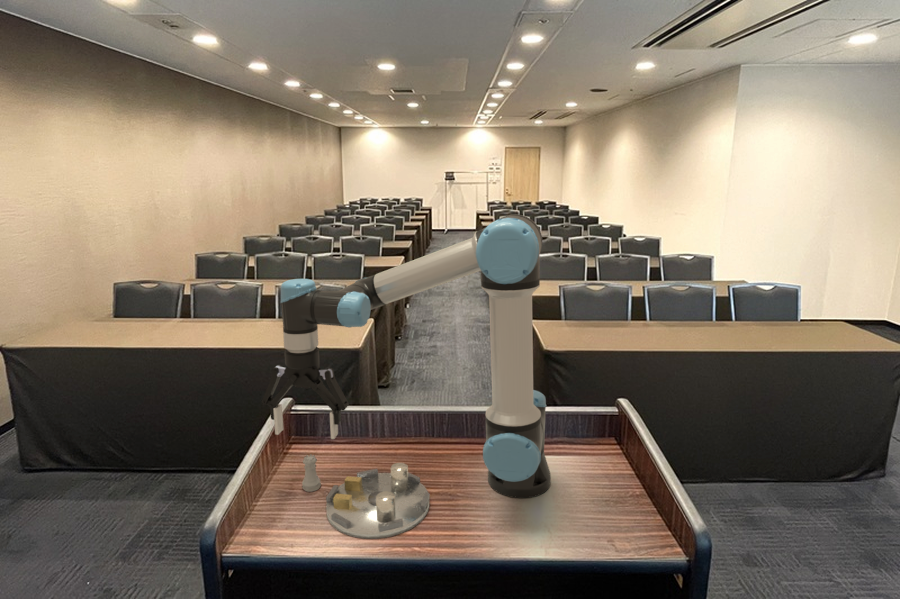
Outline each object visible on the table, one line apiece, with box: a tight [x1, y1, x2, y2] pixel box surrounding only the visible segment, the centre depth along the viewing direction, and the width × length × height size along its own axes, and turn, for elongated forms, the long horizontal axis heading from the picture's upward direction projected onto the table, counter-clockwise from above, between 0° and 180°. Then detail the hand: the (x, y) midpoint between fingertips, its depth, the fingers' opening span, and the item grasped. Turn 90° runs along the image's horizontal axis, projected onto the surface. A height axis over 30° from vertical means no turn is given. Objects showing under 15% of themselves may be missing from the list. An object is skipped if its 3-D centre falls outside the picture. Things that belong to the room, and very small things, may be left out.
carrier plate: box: [325, 462, 430, 540], centre depth 125 cm, size 23×23×6 cm
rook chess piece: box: [301, 454, 322, 493], centre depth 132 cm, size 4×4×8 cm
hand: (306, 434), depth 130 cm, fingers open, 13 cm apart
